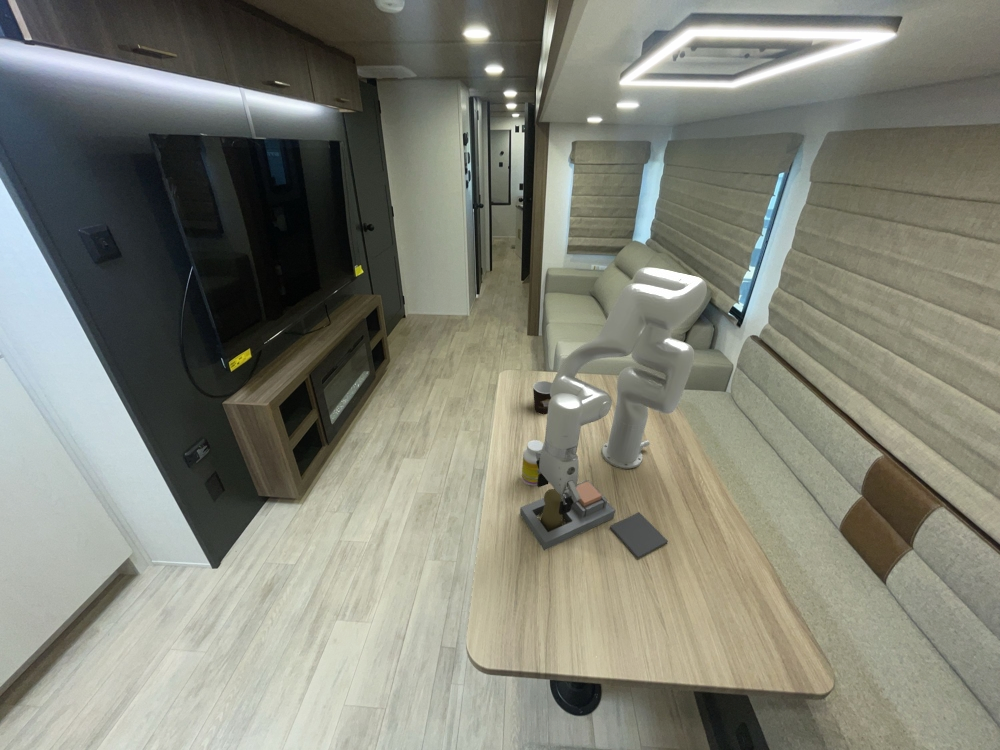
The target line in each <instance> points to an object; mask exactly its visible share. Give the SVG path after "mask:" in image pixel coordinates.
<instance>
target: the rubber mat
mask: <svg viewBox="0 0 1000 750" xmlns="http://www.w3.org/2000/svg"><path fill="white" fill-rule="evenodd" d="M609 529H610V530H611V531H612V532H613V533H614V534H615V535H616V537H617V538H618V539H619V540H620V541H621V542H622V544H624V545H625V547H626V548H627V549H628V550H629V551H630V552H631V554H632V555H633V556H634V557H635V558H636V559H637V560H639V559H640V558H642V557H644V556H646V555H648V554H650V553H652V552H653V551H656V550H657V549H659V548H660V547H664V545H666V544H668V541H669V540H668V539H667V538H666V537H665V536H664V535H663V534H662V533H660V531H659V530H657V528H656V527H655V526H653V524H652V523H651V522H650V521H649V520H647V518H646V517H644V515H643V514H642V513H640V512H636V513H635V514H632V515H630V516H627V517H625V518H624V519H622V520H619V521H618V522H616V523H614V524H611V525H610V526H609Z"/></svg>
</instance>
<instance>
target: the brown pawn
mask: <svg viewBox="0 0 1000 750" xmlns="http://www.w3.org/2000/svg"><path fill="white" fill-rule="evenodd" d="M543 498H544V502H545V506H544V509H543V512H542V514H541V517H540V519H539V521H540V522H541V523H542V525H543V526H544V528H545V529H546V530H547V532H550V531H552V530H554V529H556V528H559V527H561V526H563V525H564V524H563V523H564V522H563V520H564V519H563V517H562V515H560V514H559V507H560V502H561V501H562V499H561V495H560V493H558V492H557V491H556V490H555V489H554V488H550V489H548V490H547V491H546V492H545V493H544V495H543Z"/></svg>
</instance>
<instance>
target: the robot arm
mask: <svg viewBox="0 0 1000 750" xmlns="http://www.w3.org/2000/svg"><path fill="white" fill-rule="evenodd" d="M707 291H708V286H707V283H706V281H705V280H704V279H702V278H700V277H699V276H694V275H690V274H686V273H680V272H678V271H673V270H669V269H664V268H657V267H650V266H649V267H647V266H646V267H641V268H640V269H638V270H637V271H636V273H635V274H634V278H633V283H630V284H628V285H626V286H625V287H624V288H623V289H622V291H621V292H620V294H619V295H618V297H617V300H616V301H615V303H614V305H613V306H612V308H611V310H610V312H609V314H608V316H607V319H606V320H605V322H604V323H603V326H602V327H601V329H600V331H599V333H598V335H597V336H596V337H595V338H593V339H592V340H589V341H587V342H586V343H584V344H582V345H580V346H579V347H578V348H576V349H575V350H573V351H572V352H571V353H569V354H568V356H566V357H565V359H563V361H562V363H561V364H560V367H559V368H558V370H557V373H556V374H555V376H554V379H553V380H552V385H551V389H550V396H551V399H550V401H549V406H548V414H546V415H547V417H546V425H545V434H544V440H543V441H544V442H543V447H542V451H539V452H536V458H537V461H536V463H537V466H538V470H537V472H538V474H539V475H538V482H537V485H536V486H537V487H538V488H542V487H544V486H547V485H549V484H550V485H551V486H552V489H555V490H556V491H557V492H558V493H560V495H561V499H562V501H561V502H560V507H559V514H560V515H562V514H564V513H568V512H570V510H571V507H572V504H573V503H576V502H578V501H579V500H580V499H581V497H580V495H579V493H578V491H577V489H576V488H577V484H578V483H579V482H578V481H579V469H580V468H579V467H580V466H579V465H580V464H579V456H578V453H577V451H578V448H579V447H578V446H579V440H580V434H581V428H582V426H585V425H588V424H591V423H594V422H597V421H599V420H602V419H603V418H605V417H606V416H607V415H608V414H609V413H610V411H611V408H612V405H613V404H612V403H613V402H612V401H613V400H612V397H611V396H610V394H609V392H607V391H605V390H603V389H601V388H599V387H597V386H594V385H592V384H590V383H588V382H586V381H583V380H582V379H579V378H577V376H576V375H577V374H578V373H579V371H580V370H581V369H582V368H583V367H584V366H585V365H587V364H589V363H590V362H593V361H595V360H601V359H606V358H607V359H608V358H624V357H628V356H629V355H630V354H631V358H632V361H634V362H635V363H637V364H638V365H640V366H643V367H646V368H648V369H651V370H654V371H657V372H658V373H661V374H663V375H664V376H663V375H661V374H658V373H655V372H653V371H650V370H648V369H645V368H642V367H638V366H627V367H625V368H623V369H622V370H621V371H620V373H619V375H618V377H617V381H616V403H615V409H614V413H613V419H612V423H611V427H610V433H609V438H608V441H607V442H605V443H604V444H603V445H602V448H601V455H602V457H603V459H604V461H606V462H608V464H610V465H612V466H613V467H616V468H620V469H624V470H626V469H627V470H628V469H635V468H637V467H639V466H641V463H642V461H643V453H642V452H641V451H642V450H643V449H644V448H646V447H648V446H650V444H651V443H650V441H649V440H648V439H644V440H643V437H644V433H645V429H646V425H647V421H648V418H649V409H652V410H653V411H655V412H658V413H661V414H664V415H669V414H672V413H673V412H675V411H676V409H677V408H678V405H680V402H681V398H682V396H683V393H684V391H685V389H686V388H685V387H686V386H687V385H686V384H687V382H688V379H689V377H690V374H691V371H692V368H693V364H694V360H695V350H694V348H693V347H692V345H690V344H689V343H687V342H686V341H685V342H684V341H682V340H678V339H675V338H672V331H673V329H675V328H676V327H679V326H680V325H681V324H683V322H685V321H686V320H687V319H688V318H690V316H692V315H693V314H694V313H695V312H696V311H697V310H699V309H700V307H701V306H702V305H703V302H705V299H706V296H707ZM648 408H649V409H648ZM566 492H568V493H569V497H568V498H566V497H565V493H566Z"/></svg>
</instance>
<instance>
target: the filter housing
mask: <svg viewBox="0 0 1000 750" xmlns="http://www.w3.org/2000/svg"><path fill="white" fill-rule="evenodd" d="M588 481H589V483H590V484H591V485H592V486H593V487H594V488H595V489H596V490H597V491H598V492H599V493H600V494H601V495H602V496H601V500H600V501H598V502H596V503H594V504H591V505H589V506H587V507H585V509H584V508H583V507H582V505H581V504H580V503H579V502H576V503H573V504H572V507H571V510H570V512H568V513H564V514H562V520H564V522H566V523H565V524H563V526H561V527H559V528H556V529H554V530H552V531H550V532H547V530H546V529H545V528H544V526H543V525H542V523H541V522H540V519H539V518H538V516H539V515H542V512H543V509H544V506H545V502H544V497H542V498H539V499H538V500H535V501H533V502H531V503H528V504H525V505H522V506H521V507H520V512H519V513H520V514H519V516H520V517H521V518H522V520H523V521H524V523H525V524H526V526H527V527H528V529H529V530H530V532H531V533H532V535H533V536H534V537H535V539H536V541H537V542H538V543H539V545H540V546H541V548H542V549H543V551H546V550H547V551H548V550H549V549H550V548H552V547H553V548H554V546H555V547H556V546H558V545H560V544H561V543H563V542H566V541H568V540H571V539H572V538H574V537H577V536H578V535H581V534H583V533H585V532H587V531H589V530H591V529H593V528H595V527H597V526H600V525H601V524H604V523H606V522H608V521H610V520H611V521H612V520H613V519H614V518H615V514H616V509H615V508H614V507H613V506H612V505H611V504H610V503H609V502H608V499H607V498H606V497H605V496H604V495H603V494H602V493H601V492H600V491H599V490H598V489H597V488H596V487H595V486H594V484H592V482H591V481H590V480H585V481H581V482H578V483H577V486H578V485H580V484H583V483H585V482H588ZM565 497H566V498H568V497H569V493H568V492H566V493H565Z"/></svg>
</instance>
